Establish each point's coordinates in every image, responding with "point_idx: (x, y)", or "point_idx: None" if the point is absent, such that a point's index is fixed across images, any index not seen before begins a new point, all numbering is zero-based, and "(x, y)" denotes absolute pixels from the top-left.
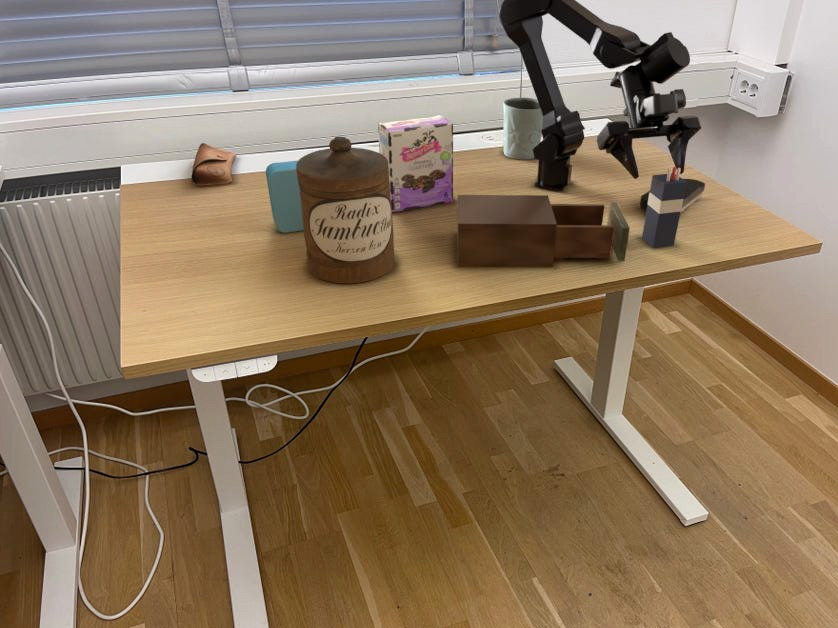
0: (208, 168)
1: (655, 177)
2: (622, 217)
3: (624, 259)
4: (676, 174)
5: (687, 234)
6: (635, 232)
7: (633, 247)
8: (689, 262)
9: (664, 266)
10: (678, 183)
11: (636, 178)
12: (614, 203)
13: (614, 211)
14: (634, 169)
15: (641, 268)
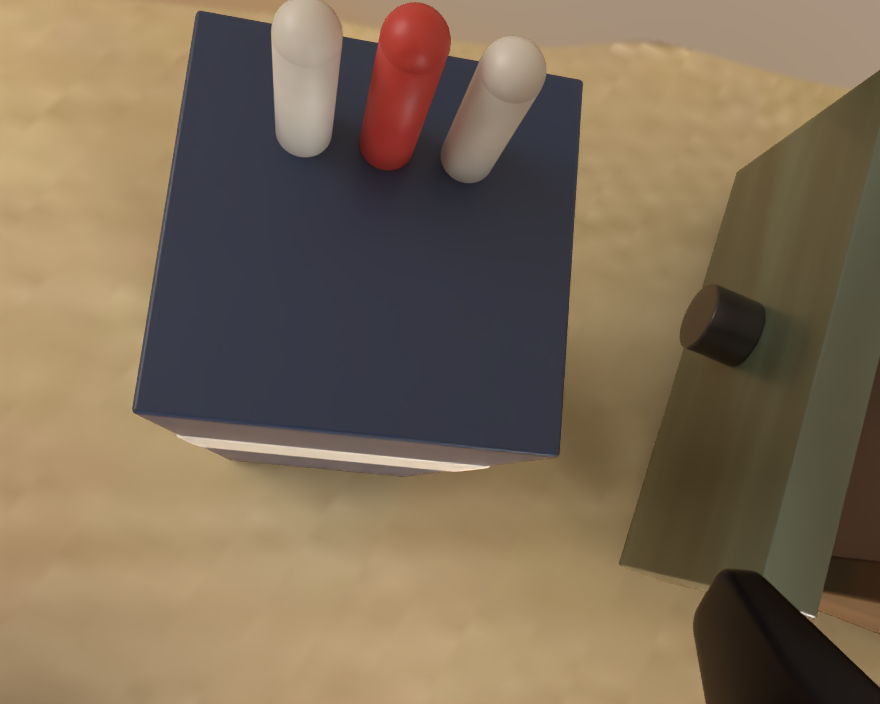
0: None
1: (565, 356)
2: (867, 248)
3: (745, 166)
4: (333, 92)
5: (12, 412)
6: (389, 585)
7: None
8: None
9: None
10: (347, 42)
11: (707, 605)
12: (797, 563)
13: (863, 406)
14: (839, 656)
15: (637, 116)
